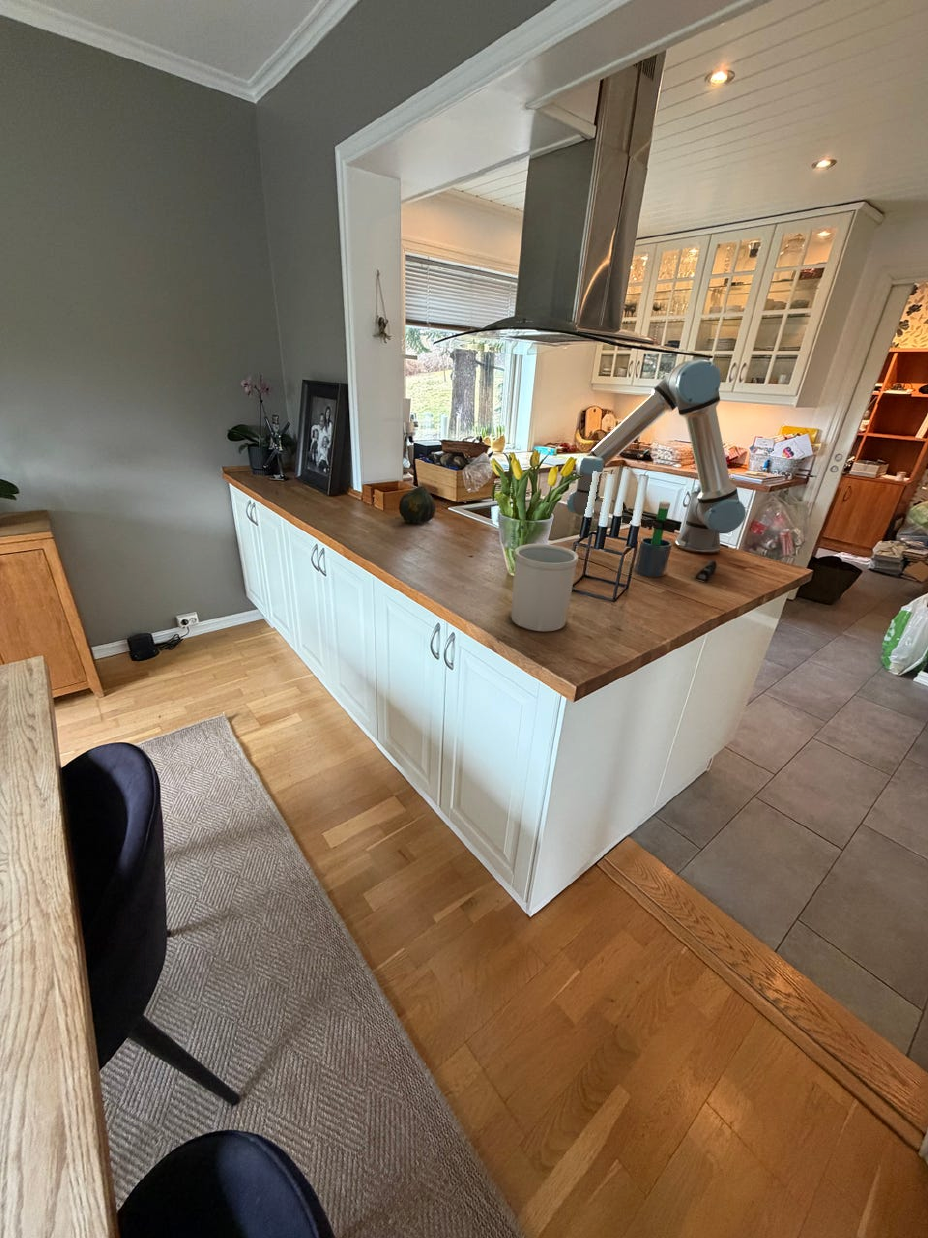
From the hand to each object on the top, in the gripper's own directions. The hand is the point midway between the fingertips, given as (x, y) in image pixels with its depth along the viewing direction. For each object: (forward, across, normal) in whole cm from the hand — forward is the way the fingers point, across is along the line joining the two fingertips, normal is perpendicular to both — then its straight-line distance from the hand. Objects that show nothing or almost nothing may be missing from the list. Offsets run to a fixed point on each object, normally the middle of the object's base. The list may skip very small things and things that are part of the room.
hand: (677, 527), depth 144 cm
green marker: (-5, 0, -8) cm, 9 cm away
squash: (-96, +26, -16) cm, 100 cm away
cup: (-5, 0, -16) cm, 17 cm away
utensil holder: (-5, +55, -16) cm, 58 cm away
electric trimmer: (+7, -13, -16) cm, 22 cm away
